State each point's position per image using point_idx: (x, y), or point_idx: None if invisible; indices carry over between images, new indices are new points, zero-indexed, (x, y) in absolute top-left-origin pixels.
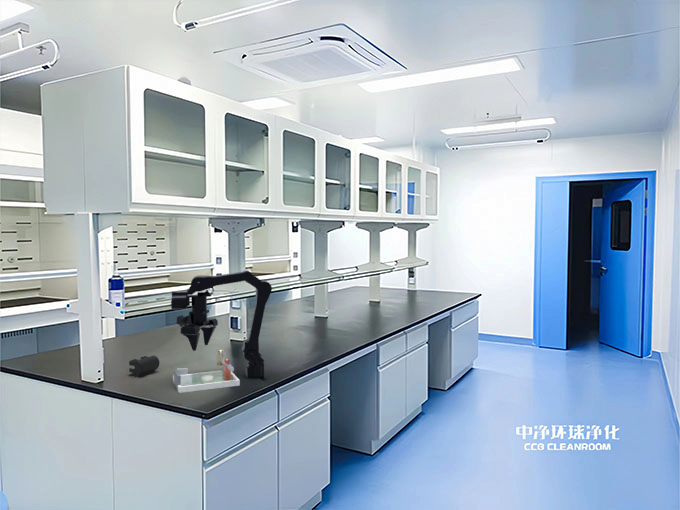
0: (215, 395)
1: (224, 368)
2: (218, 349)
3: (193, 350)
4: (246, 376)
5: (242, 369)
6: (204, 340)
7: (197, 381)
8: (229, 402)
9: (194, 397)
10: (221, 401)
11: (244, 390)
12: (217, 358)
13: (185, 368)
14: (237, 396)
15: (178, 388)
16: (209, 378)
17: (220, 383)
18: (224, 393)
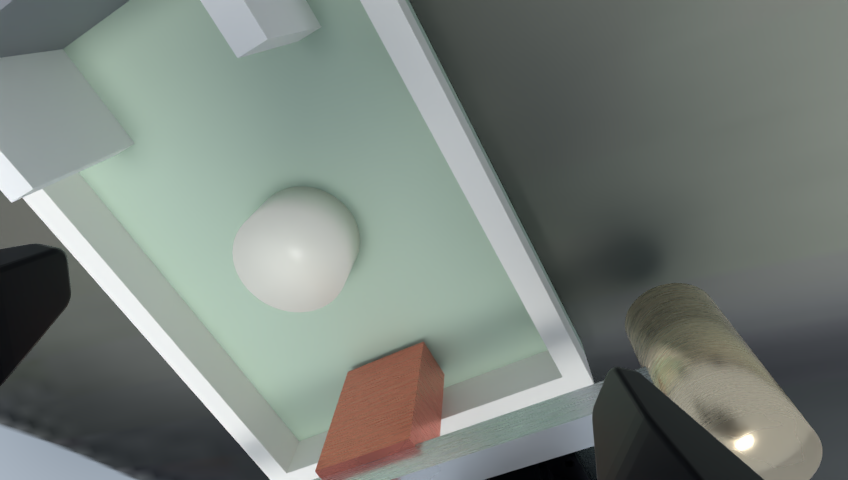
0: (112, 337)
1: (363, 433)
2: (795, 430)
3: (43, 260)
4: (511, 474)
5: (817, 397)
6: (653, 448)
7: (334, 134)
8: (31, 431)
9: (17, 212)
10: (26, 391)
11: (260, 472)
12: (666, 346)
13: (223, 20)
14: (142, 453)
15: None
16: (251, 290)
17: (194, 381)
18: (169, 380)
